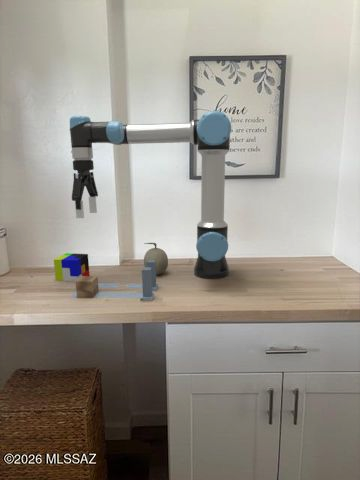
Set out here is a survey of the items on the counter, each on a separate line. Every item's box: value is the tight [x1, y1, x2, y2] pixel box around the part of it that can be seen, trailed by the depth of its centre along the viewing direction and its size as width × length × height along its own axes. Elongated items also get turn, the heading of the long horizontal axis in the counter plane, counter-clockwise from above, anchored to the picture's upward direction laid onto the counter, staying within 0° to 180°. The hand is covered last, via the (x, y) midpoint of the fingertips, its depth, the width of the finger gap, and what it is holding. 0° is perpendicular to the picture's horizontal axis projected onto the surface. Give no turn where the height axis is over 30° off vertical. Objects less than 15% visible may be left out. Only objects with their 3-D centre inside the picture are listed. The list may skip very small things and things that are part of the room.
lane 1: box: [69, 266, 155, 302], centre depth 126 cm, size 30×5×11 cm, turn 85°
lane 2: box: [124, 260, 159, 292], centre depth 134 cm, size 12×5×11 cm, turn 85°
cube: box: [75, 275, 100, 299], centre depth 127 cm, size 6×6×6 cm
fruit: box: [143, 242, 169, 276], centre depth 152 cm, size 10×12×15 cm
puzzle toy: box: [53, 252, 91, 283], centre depth 146 cm, size 10×10×10 cm
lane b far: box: [98, 282, 121, 289], centre depth 137 cm, size 15×5×1 cm, turn 85°
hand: (87, 215), depth 137 cm, fingers open, 13 cm apart
